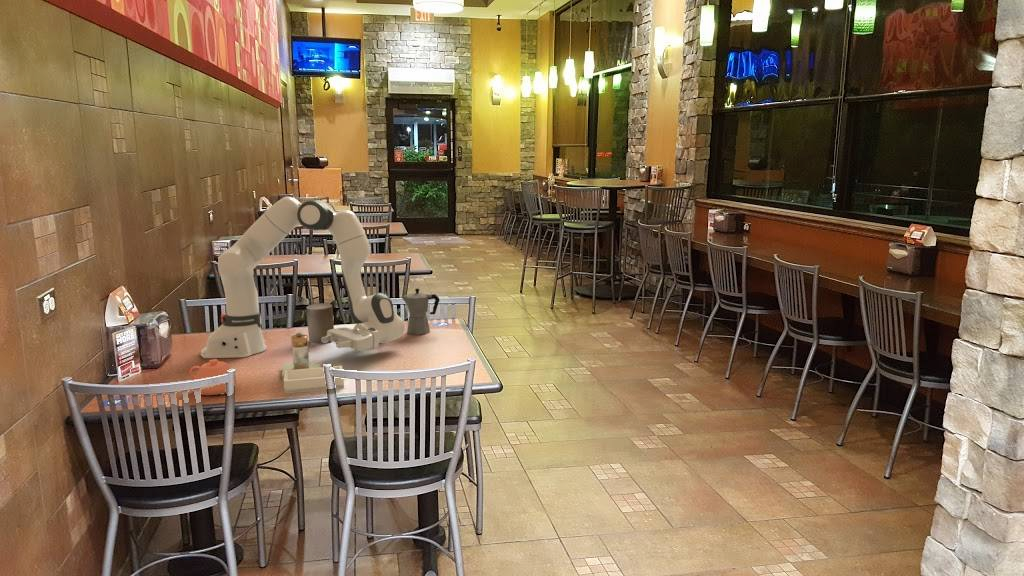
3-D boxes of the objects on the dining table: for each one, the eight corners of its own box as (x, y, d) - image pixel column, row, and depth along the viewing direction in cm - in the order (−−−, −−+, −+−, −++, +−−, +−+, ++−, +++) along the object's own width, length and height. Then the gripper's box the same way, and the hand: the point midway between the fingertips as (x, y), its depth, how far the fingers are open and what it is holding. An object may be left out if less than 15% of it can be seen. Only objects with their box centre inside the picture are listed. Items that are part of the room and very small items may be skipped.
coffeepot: (400, 335, 277) (398, 290, 274) (404, 329, 287) (403, 286, 283) (438, 335, 277) (437, 291, 273) (441, 329, 286) (440, 286, 282)
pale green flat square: (282, 380, 224) (281, 375, 224) (283, 368, 236) (283, 364, 235) (320, 376, 228) (320, 372, 227) (320, 365, 239) (319, 361, 239)
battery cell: (293, 371, 228) (290, 336, 226) (293, 366, 233) (291, 332, 231) (309, 370, 230) (307, 334, 227) (309, 365, 234) (307, 331, 232)
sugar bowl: (230, 398, 209) (227, 365, 207) (182, 399, 208) (178, 366, 206) (242, 384, 221) (240, 353, 219) (197, 385, 220) (194, 354, 218)
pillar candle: (337, 337, 275) (335, 299, 272) (330, 343, 265) (328, 305, 262) (313, 337, 275) (310, 300, 272) (305, 344, 266) (302, 305, 263)
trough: (284, 393, 212) (283, 381, 211) (285, 382, 222) (285, 370, 221) (344, 388, 217) (343, 375, 216) (342, 377, 227) (341, 365, 226)
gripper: (347, 321, 254) (313, 328, 244) (380, 331, 240) (345, 339, 230) (348, 338, 255) (314, 345, 246) (381, 349, 241) (346, 357, 232)
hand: (329, 342), depth 238 cm, fingers open, 8 cm apart
